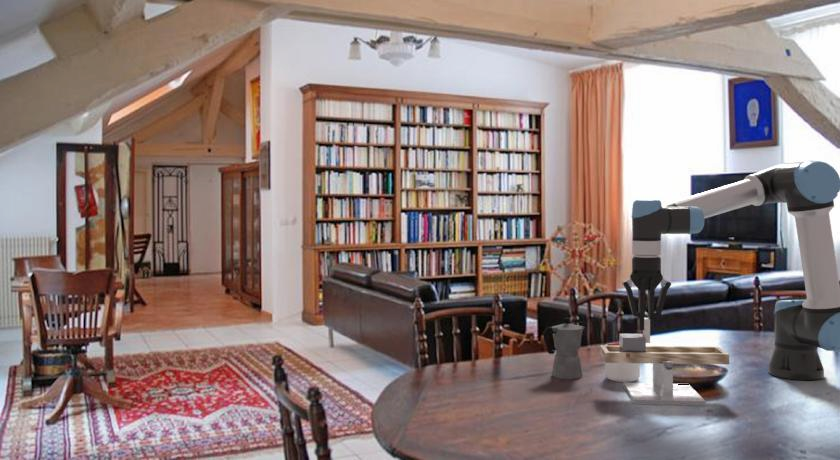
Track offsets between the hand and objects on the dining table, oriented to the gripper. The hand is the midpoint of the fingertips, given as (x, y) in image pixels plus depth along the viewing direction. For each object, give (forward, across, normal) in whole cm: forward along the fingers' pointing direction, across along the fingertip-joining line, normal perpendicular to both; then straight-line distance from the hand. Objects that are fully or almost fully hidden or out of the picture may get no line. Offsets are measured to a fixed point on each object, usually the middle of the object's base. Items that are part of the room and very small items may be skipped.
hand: (646, 341), depth 196 cm
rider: (+3, +4, 0) cm, 5 cm away
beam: (+5, -4, 0) cm, 6 cm away
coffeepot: (+15, +21, -20) cm, 32 cm away
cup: (+15, +4, -18) cm, 24 cm away
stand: (+15, -4, 0) cm, 15 cm away
